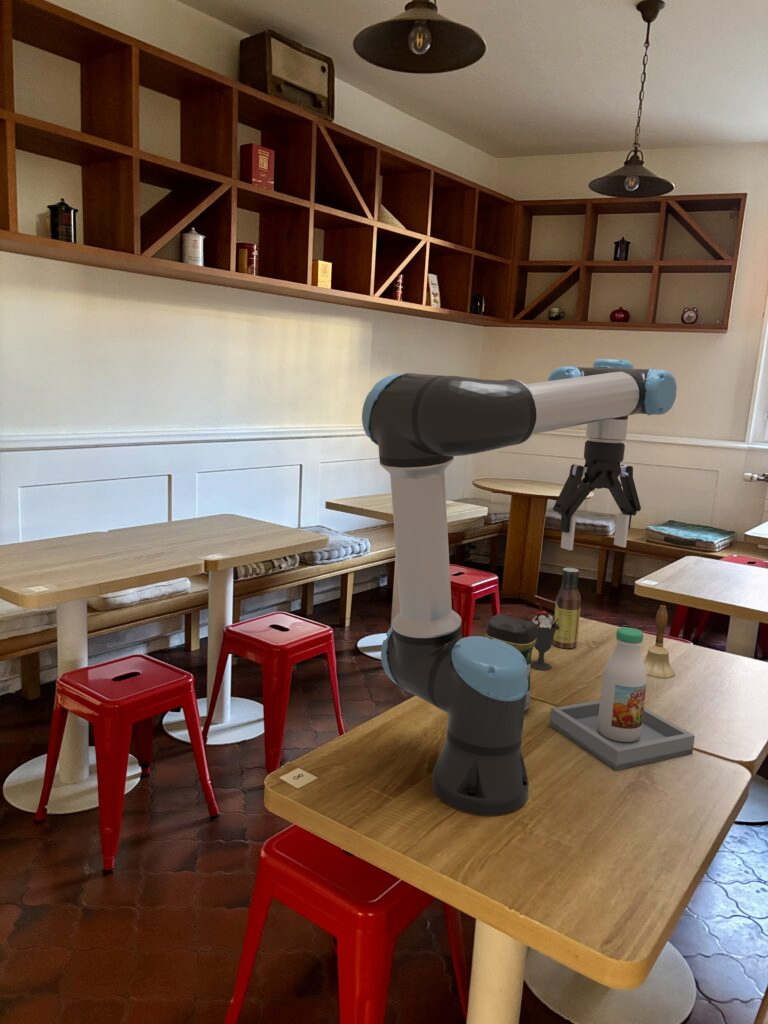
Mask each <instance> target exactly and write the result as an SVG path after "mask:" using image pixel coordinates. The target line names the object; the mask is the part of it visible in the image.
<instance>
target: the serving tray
mask: <svg viewBox="0 0 768 1024" xmlns="http://www.w3.org/2000/svg"><path fill="white" fill-rule="evenodd" d="M599 707H600V699H597V700H592V701H586V702H580V703H573V704H569V705H568V704H567V705H563V706H555V707H551V708H550V718H549V726H550V728H551V727H552V728H553V729H555V730H556V731H557V732H558V733H560V734H561V735H563V736H564V737H566V738H567V739H569V740H570V741H572V742H573V743H574V744H576V745H577V746H579V747H581V748H582V749H584V750H585V752H586V751H587V752H588V753H589V754H591V755H592V756H593V757H595V758H596V759H598V760H599V761H601V762H602V763H604V764H606V765H607V766H608V767H609V768H611V769H612V770H614V771H615V772H616V771H617V772H618V771H620V770H625V769H631V768H635V767H639V766H644V765H648V764H652V763H657V762H661V761H666V760H670V759H675V758H680V757H683V756H688V755H693V754H694V753H693V752H694V746H695V745H694V744H695V738H696V735H695V734H693V733H691V732H689V731H687V730H686V729H684V728H682V727H680V726H678V725H676V724H675V723H673V722H671V721H669V719H666V718H664V717H662V716H660V715H659V714H657V713H655V712H653V711H651V710H650V709H648V708H645V707H644V711H643V720H642V728H641V735H640V737H639V739H638V740H637V741H634V742H618V741H614V740H610V739H608V738H606V737H604V736H602V735H601V734H600V733H599V731H598V728H597V727H598V716H599Z"/></svg>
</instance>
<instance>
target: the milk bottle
mask: <svg viewBox="0 0 768 1024" xmlns="http://www.w3.org/2000/svg"><path fill="white" fill-rule="evenodd" d="M615 633H616V634H615V635H616V636H615V642H616V645H615V647H614V650H613V652H612V654H611V656H610V657H609V658H608V660H607V661H606V664H605V667H604V671H603V676H602V681H601V682H602V683H601V688H600V689H601V690H600V697H599V700H600V707H599V716H598V727H597V728H598V731H599V733H600V734H601V735H602V736H604V737H606V738H608V739H610V740H614V741H618V742H634V741H637V740H638V739H639V737H640V735H641V728H642V720H643V711H644V708H645V702H646V701H645V700H646V693H647V682H648V681H647V678H648V677H647V676H648V675H646V669H645V665H644V662H643V661H644V660H643V656H642V652H641V646H642V645H643V639H644V633H643V631H641V630H640V629H637V628H634V627H625V626H624V627H619V628H617V630H616V632H615Z"/></svg>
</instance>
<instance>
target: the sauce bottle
mask: <svg viewBox="0 0 768 1024" xmlns="http://www.w3.org/2000/svg"><path fill="white" fill-rule="evenodd" d="M561 574H562V579H561V586H560V588H559V589H558V593H557V594H556V596H555V601H554V614H553V622H555V621H556V620H557V619H558V621H557V622H556V623H557V624H558V625H559V628H560V629H558V630H556V631H555V634H554V638H553V643H552V645H554V646H555V647H558V648H561V649H565V648H566V649H567V650H568V649H574V648H576V647H577V644H578V642H577V641H578V640H579V629H580V619H581V617H580V616H581V602H582V598H581V596H582V595H581V594H580V591H579V589H578V579H579V576H580V570H579V569H577V568H574V567H564V568H562V571H561ZM566 649H565V650H566Z"/></svg>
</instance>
